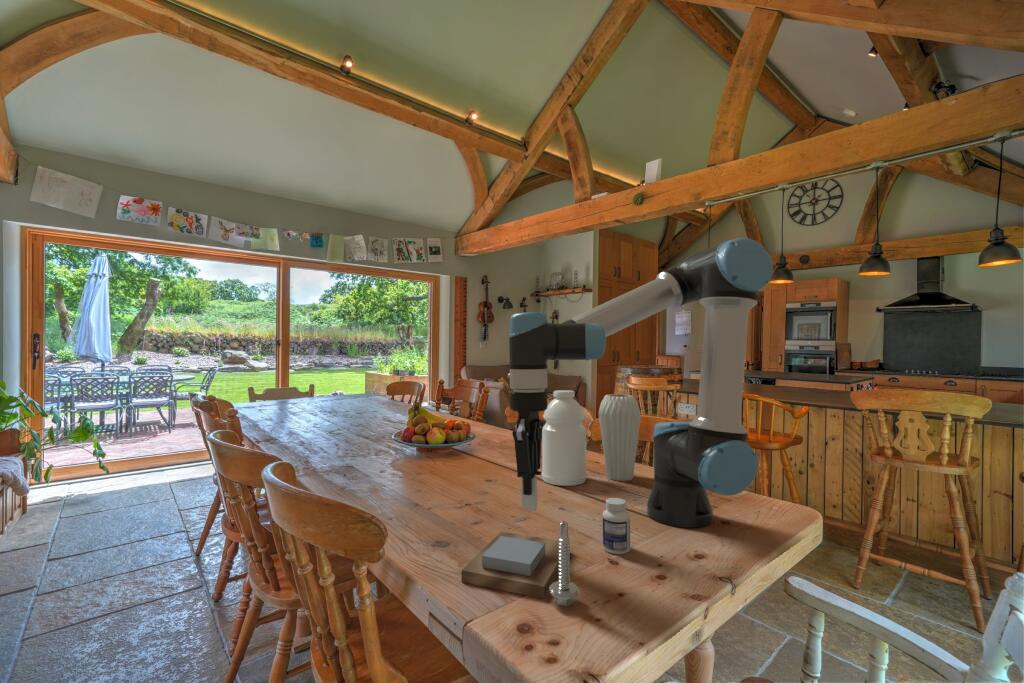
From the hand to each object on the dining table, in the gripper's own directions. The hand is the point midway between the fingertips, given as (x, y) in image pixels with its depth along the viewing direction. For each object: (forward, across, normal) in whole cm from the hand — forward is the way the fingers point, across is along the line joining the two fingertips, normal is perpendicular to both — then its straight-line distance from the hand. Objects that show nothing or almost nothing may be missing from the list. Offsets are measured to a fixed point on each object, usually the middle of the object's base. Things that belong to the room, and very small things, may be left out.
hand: (529, 509), depth 88 cm
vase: (+10, -62, +10) cm, 64 cm away
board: (+9, +5, 0) cm, 10 cm away
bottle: (+10, -53, -6) cm, 54 cm away
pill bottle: (+9, -9, +16) cm, 20 cm away
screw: (+9, +14, +10) cm, 19 cm away
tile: (+6, +3, 0) cm, 7 cm away
